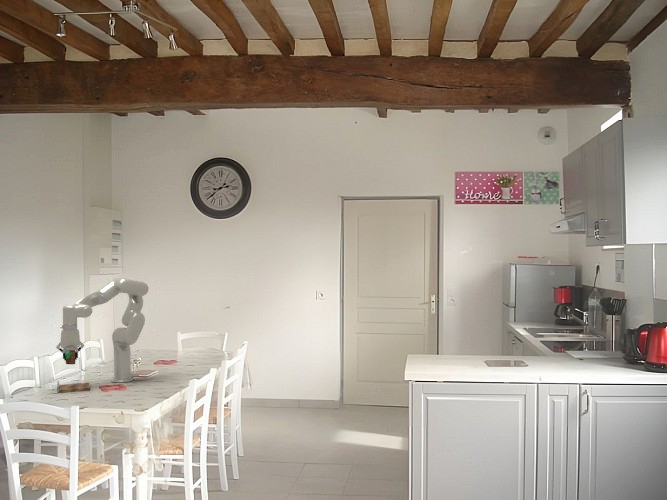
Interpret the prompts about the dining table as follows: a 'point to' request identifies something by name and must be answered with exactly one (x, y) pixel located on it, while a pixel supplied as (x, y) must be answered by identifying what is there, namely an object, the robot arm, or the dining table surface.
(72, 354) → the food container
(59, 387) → the shelf board
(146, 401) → the dining table surface
